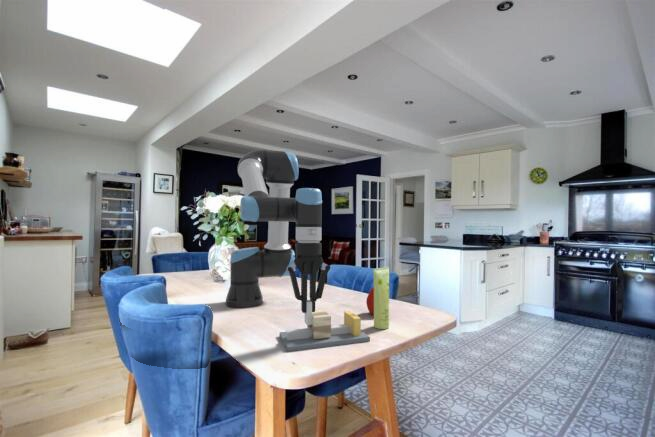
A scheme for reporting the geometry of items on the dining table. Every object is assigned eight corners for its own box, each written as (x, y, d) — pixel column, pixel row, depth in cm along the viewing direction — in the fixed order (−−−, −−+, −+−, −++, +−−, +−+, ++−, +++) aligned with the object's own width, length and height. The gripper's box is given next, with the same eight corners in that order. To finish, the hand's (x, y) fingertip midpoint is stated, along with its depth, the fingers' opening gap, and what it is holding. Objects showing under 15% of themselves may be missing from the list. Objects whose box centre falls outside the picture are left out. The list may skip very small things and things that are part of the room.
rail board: (279, 336, 94) (279, 315, 95) (353, 328, 102) (353, 308, 102) (287, 351, 83) (287, 328, 83) (369, 341, 91) (369, 319, 91)
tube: (389, 330, 100) (389, 268, 100) (373, 329, 101) (373, 268, 101) (389, 325, 105) (388, 266, 106) (373, 324, 106) (373, 266, 107)
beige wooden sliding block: (307, 331, 95) (307, 311, 95) (323, 329, 96) (323, 309, 96) (314, 339, 88) (314, 317, 88) (330, 337, 90) (331, 316, 90)
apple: (384, 318, 113) (384, 288, 113) (362, 315, 117) (362, 286, 117) (391, 313, 120) (391, 284, 120) (370, 310, 124) (370, 282, 124)
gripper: (289, 242, 86) (288, 329, 86) (334, 242, 90) (333, 325, 90) (284, 241, 93) (283, 321, 93) (325, 240, 97) (325, 317, 97)
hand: (308, 323), depth 91 cm, fingers closed
